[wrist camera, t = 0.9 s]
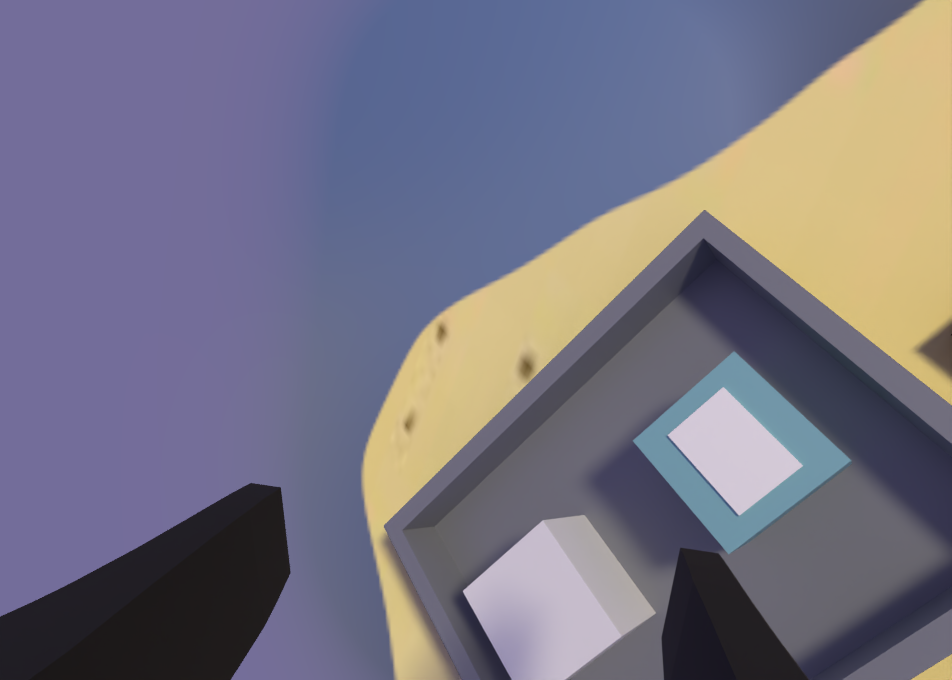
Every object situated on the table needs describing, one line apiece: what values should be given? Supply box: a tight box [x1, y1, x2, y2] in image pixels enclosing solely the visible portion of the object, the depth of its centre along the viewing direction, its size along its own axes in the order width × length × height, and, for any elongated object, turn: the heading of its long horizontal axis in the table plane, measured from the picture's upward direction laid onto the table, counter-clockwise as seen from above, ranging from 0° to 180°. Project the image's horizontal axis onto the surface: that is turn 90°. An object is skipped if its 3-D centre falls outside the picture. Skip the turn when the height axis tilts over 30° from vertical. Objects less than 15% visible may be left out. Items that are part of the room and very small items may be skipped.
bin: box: [384, 210, 952, 680], centre depth 22 cm, size 15×20×3 cm
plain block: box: [463, 515, 656, 680], centre depth 22 cm, size 4×4×4 cm
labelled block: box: [633, 351, 852, 554], centre depth 20 cm, size 4×4×4 cm
